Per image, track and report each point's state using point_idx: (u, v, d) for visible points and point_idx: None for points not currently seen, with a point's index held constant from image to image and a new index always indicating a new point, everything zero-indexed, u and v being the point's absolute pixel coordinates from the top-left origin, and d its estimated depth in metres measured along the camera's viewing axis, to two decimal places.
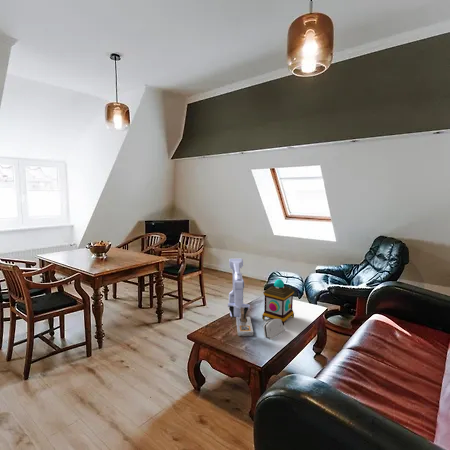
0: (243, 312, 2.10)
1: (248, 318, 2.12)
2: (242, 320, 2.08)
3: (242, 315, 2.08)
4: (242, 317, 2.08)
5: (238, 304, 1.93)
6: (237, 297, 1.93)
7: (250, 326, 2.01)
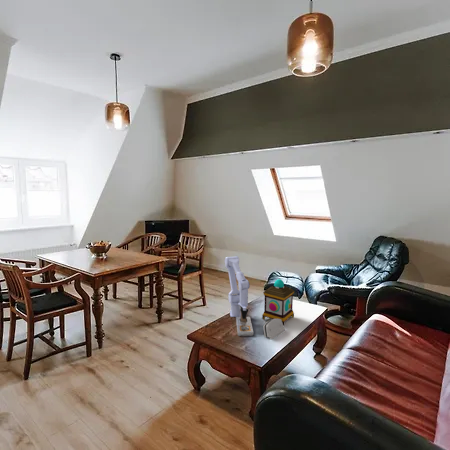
0: None
1: (248, 318, 2.12)
2: (242, 320, 2.08)
3: None
4: None
5: (239, 302, 2.08)
6: (243, 297, 2.05)
7: (250, 326, 2.01)
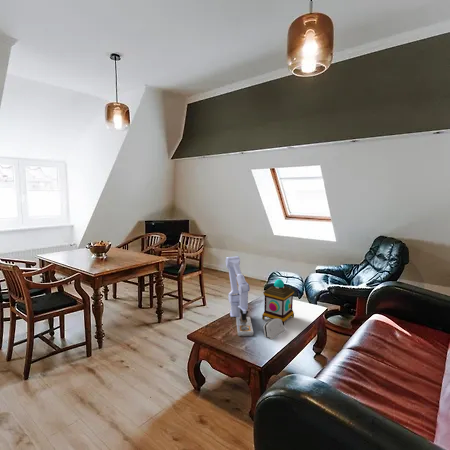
0: None
1: (248, 318, 2.12)
2: (242, 320, 2.08)
3: None
4: None
5: (239, 304, 2.08)
6: (243, 299, 2.05)
7: (250, 326, 2.01)
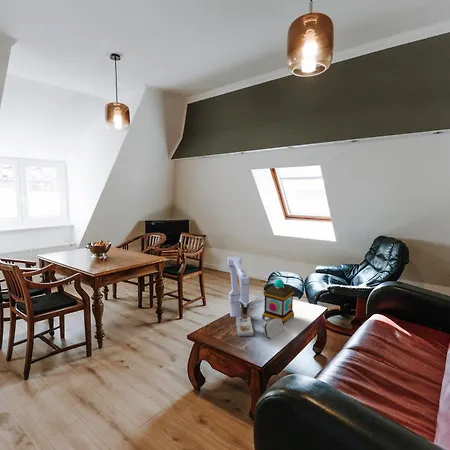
0: None
1: (248, 318, 2.12)
2: (243, 314, 2.02)
3: None
4: None
5: (240, 298, 2.02)
6: (244, 293, 1.99)
7: (250, 326, 2.01)
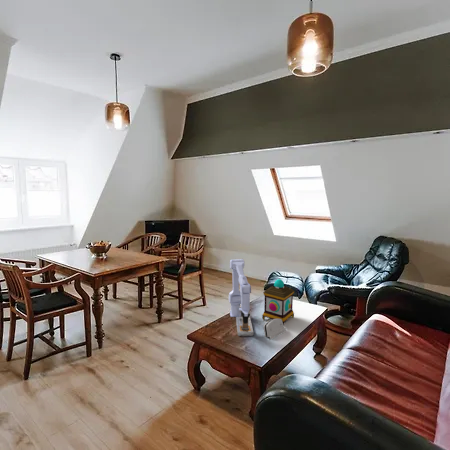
0: None
1: (248, 318, 2.12)
2: None
3: None
4: None
5: (241, 307, 1.96)
6: (244, 301, 1.93)
7: (250, 326, 2.01)
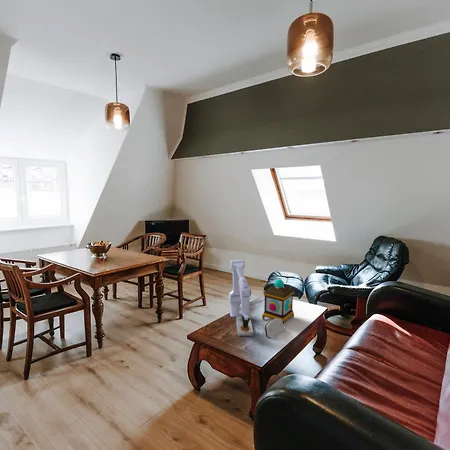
0: None
1: None
2: (244, 328, 1.97)
3: None
4: None
5: (241, 310, 1.96)
6: (244, 305, 1.93)
7: (250, 326, 2.01)
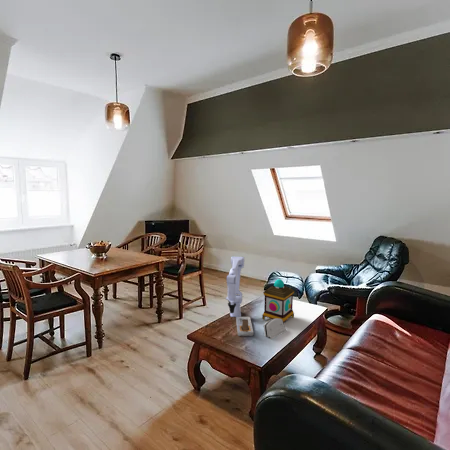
0: (245, 320, 1.98)
1: (248, 318, 2.12)
2: (244, 328, 1.97)
3: (244, 323, 1.96)
4: (244, 325, 1.96)
5: None
6: (229, 290, 2.03)
7: (250, 326, 2.01)
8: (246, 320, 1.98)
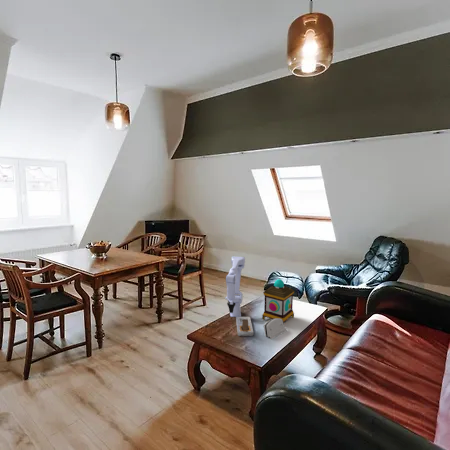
0: (245, 320, 1.98)
1: (248, 318, 2.12)
2: (244, 328, 1.97)
3: (244, 323, 1.96)
4: (244, 325, 1.96)
5: (227, 296, 2.06)
6: (228, 290, 2.04)
7: (250, 326, 2.01)
8: (246, 320, 1.98)
